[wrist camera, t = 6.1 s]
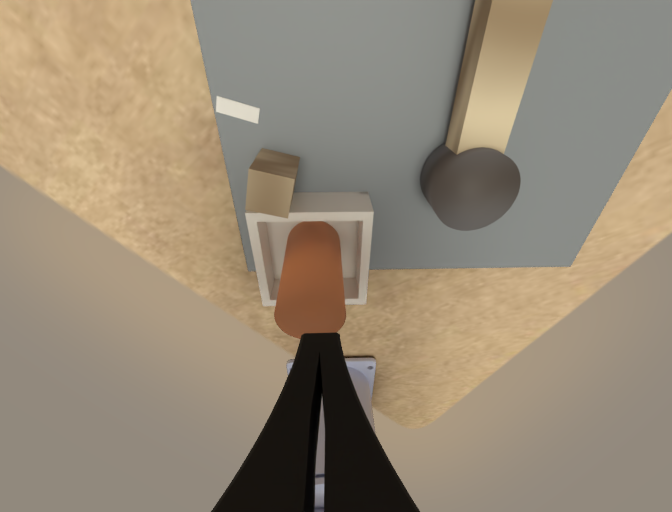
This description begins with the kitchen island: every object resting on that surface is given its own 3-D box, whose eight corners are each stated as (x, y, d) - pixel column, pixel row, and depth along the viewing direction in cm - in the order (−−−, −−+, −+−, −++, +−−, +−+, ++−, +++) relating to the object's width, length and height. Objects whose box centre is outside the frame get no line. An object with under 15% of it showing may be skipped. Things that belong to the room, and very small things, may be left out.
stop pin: (339, 218, 17) (345, 288, 12) (340, 262, 19) (346, 338, 14) (284, 221, 17) (268, 292, 12) (291, 265, 19) (279, 341, 14)
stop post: (300, 157, 16) (294, 179, 13) (293, 191, 17) (287, 218, 14) (261, 147, 15) (248, 168, 13) (258, 183, 17) (245, 209, 14)
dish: (362, 278, 21) (366, 304, 19) (269, 280, 21) (262, 306, 18) (368, 191, 17) (373, 211, 15) (254, 192, 17) (244, 213, 15)
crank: (482, 208, 18) (513, 239, 15) (415, 208, 17) (432, 240, 15) (600, -169, 10) (714, -257, 7) (479, -171, 10) (543, -261, 7)
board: (562, 259, 21) (571, 267, 20) (250, 264, 21) (247, 271, 20) (812, -201, 10) (849, -219, 9) (153, -213, 10) (139, -235, 9)
